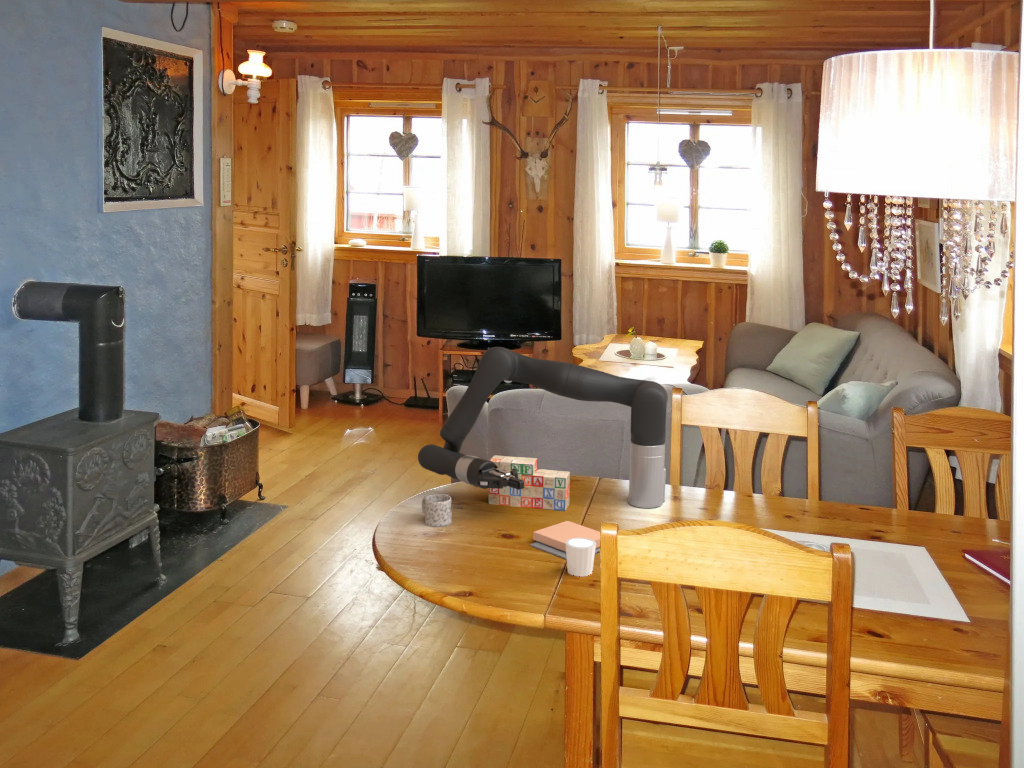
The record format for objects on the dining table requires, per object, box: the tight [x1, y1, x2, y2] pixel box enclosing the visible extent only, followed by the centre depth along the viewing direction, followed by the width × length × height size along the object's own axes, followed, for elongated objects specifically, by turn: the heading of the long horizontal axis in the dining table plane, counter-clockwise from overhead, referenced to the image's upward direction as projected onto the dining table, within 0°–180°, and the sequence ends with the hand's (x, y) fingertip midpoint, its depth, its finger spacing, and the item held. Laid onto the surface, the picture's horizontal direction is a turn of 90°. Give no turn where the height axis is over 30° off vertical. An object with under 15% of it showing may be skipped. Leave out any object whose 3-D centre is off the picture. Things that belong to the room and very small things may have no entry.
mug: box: [421, 493, 452, 528], centre depth 265 cm, size 10×7×7 cm
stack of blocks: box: [488, 455, 571, 512], centre depth 278 cm, size 21×6×12 cm, turn 76°
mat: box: [530, 541, 601, 561], centre depth 249 cm, size 16×14×1 cm
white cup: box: [566, 538, 596, 578], centre depth 233 cm, size 7×7×7 cm
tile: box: [532, 520, 601, 552], centre depth 250 cm, size 12×2×14 cm
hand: (522, 485), depth 260 cm, fingers closed
